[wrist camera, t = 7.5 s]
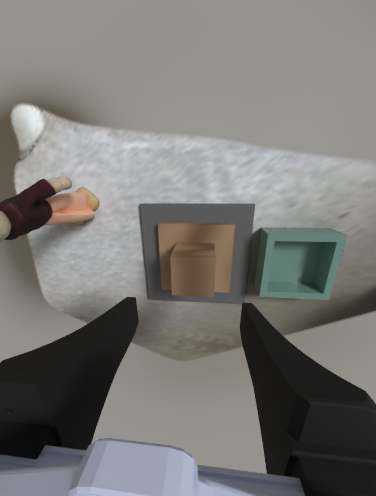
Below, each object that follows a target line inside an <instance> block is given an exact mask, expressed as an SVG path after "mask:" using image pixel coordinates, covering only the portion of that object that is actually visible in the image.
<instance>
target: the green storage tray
mask: <svg viewBox="0 0 376 496" xmlns="http://www.w3.org/2000/svg"><path fill="white" fill-rule="evenodd" d="M346 238H347V235H346V234H343V233H341V232H338V231H336V230H333V229H331V228H261V233H260V241H259V249H258V257H257V266H256V274H255V282H254V286H255V288H256V290H257V292H258V295H259V297H273V298H296V299H318V300H329V298H330V295H331V291H332V287H333V284H334V280H335V277H336V273H337V270H338V266H339V263H340V259H341V256H342V252H343V249H344V245H345V242H346Z"/></svg>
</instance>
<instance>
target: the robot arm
mask: <svg viewBox="0 0 376 496" xmlns="http://www.w3.org/2000/svg"><path fill="white" fill-rule="evenodd" d="M138 322H139V321H138V312H137V304H136V297H127V298H125V299H124V300H122V301H121V302H119V303H118V304H117V305H115V306H114V307H112V308H111V309H110V310H108V311H107V312H105V313H104V314H103V315H101V316H99V317H98V318H96V319H95V320H93V321H92V322H90V323H89V324H87V325H85V326H84V327H82V328H80V329H78V330H76V331H75V332H73V333H71V334H69V335H67V336H65V337H63V338H60V339H58V340H56V341H54V342H52V343H50V344H47V345H45V346H42V347H40V348H37V349H35V350H32V351H29V352H27V353H24V354H21V355H18V356H15V357H12V358H9V359H6V360H3V361H2V362H1V363H0V496H376V404H375V402H374V401H373V400H372V399H371V397H370V396H369V395H368V394H367V393H366V391H364V390H362V389H360V388H359V387H357V386H355V385H353V384H351V383H350V382H348V381H346V380H344V379H342V378H340V377H339V376H337V375H336V374H334V373H332V372H331V371H329V370H327V369H326V368H324V367H322V366H321V365H320V364H318V363H317V362H315V361H314V360H312V359H311V358H310V357H308V356H307V355H305V354H304V353H303V352H301V351H300V350H299V349H297V348H296V347H295V346H294V345H293V344H291V343H290V342H289V341H288V340H286V338H284V337H283V336H282V335H281V334H280V333H279V332H278V331H277V330H276V329H275V328H274V327H273V326H272V325H271V324H270V323H269V322H268V321H267V320H266V318H265V317H264V316H263V315H262V314H261V313H260V312H259V311H258V309H257V308H256V307H255V306H254V305H253V304H252V303H242V312H241V321H240V333H241V339H242V345H243V349H244V352H245V356H246V360H247V363H248V367H249V371H250V375H251V378H252V383H253V387H254V393H255V398H256V404H257V410H258V415H259V422H260V428H261V435H262V441H263V448H264V455H265V462H266V470H267V474H263V473H255V472H248V471H240V470H233V469H225V468H217V467H209V466H202V465H196V462H195V460H194V458H193V457H192V456H191V455H190V454H189V453H187V452H186V451H184V450H183V449H180V448H177V447H173V446H169V445H160V444H153V443H144V442H136V441H128V440H120V439H110V438H109V439H99V440H97V441H95V442H94V443H92V444H91V442H92V439H93V436H94V432H95V429H96V426H97V423H98V420H99V417H100V414H101V411H102V409H103V406H104V403H105V400H106V397H107V395H108V391H109V389H110V386H111V384H112V381H113V379H114V376H115V374H116V371H117V369H118V367H119V365H120V363H121V361H122V359H123V357H124V355H125V353H126V351H127V348H128V347H129V345H130V343H131V341H132V339H133V336H134V334H135V331H136V328H137V325H138Z"/></svg>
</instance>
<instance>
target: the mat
mask: <svg viewBox="0 0 376 496" xmlns="http://www.w3.org/2000/svg"><path fill="white" fill-rule="evenodd" d="M254 209H255V204H140V212H141V222H142V233H143V244H144V254H145V265H146V276H147V286H148V297H149V299H150V300H171V301H192V302H212V303H233V304H242V303H244V302H245V293H246V284H247V274H248V265H249V256H250V246H251V237H252V228H253V218H254ZM158 223H234V225H235V229H234V242H233V255H232V268H231V281H230V293H223V292H214V297H198V296H177V295H172V290H162V284H161V268H160V252H159V236H158Z"/></svg>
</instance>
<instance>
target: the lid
mask: <svg viewBox="0 0 376 496" xmlns="http://www.w3.org/2000/svg"><path fill="white" fill-rule="evenodd" d="M234 229H235V225H234V223H158V236H159V252H160V268H161V284H162V290H172V295H177V296H198V297H214V292H223V293H230V281H231V268H232V255H233V242H234Z"/></svg>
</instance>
